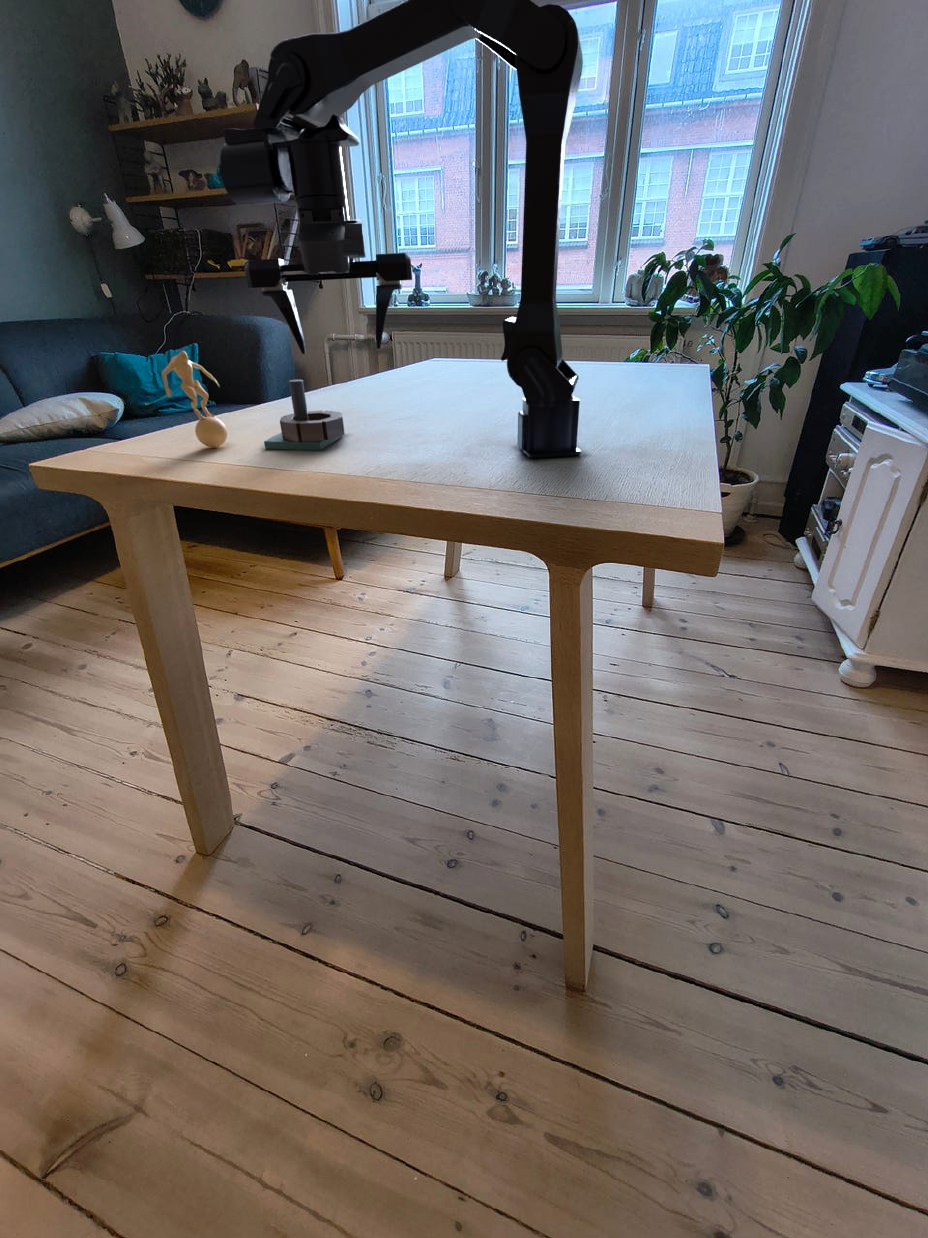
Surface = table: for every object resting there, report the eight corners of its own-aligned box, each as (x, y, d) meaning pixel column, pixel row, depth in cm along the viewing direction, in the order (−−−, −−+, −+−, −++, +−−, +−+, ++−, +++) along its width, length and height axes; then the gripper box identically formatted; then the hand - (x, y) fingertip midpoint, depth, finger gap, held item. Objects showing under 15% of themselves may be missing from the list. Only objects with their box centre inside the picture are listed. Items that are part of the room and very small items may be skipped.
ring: (344, 426, 85) (342, 409, 84) (344, 439, 78) (342, 420, 77) (285, 430, 84) (282, 412, 83) (281, 444, 77) (277, 425, 76)
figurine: (200, 455, 77) (175, 355, 71) (169, 451, 79) (142, 353, 73) (248, 441, 83) (228, 347, 77) (217, 437, 86) (196, 346, 80)
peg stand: (343, 435, 85) (335, 375, 81) (321, 450, 78) (311, 385, 74) (291, 434, 86) (281, 375, 82) (265, 448, 79) (252, 385, 75)
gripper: (219, 192, 58) (254, 363, 66) (408, 185, 60) (420, 353, 68) (240, 205, 68) (269, 353, 76) (403, 199, 70) (414, 344, 77)
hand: (341, 351), depth 74 cm, fingers open, 9 cm apart
